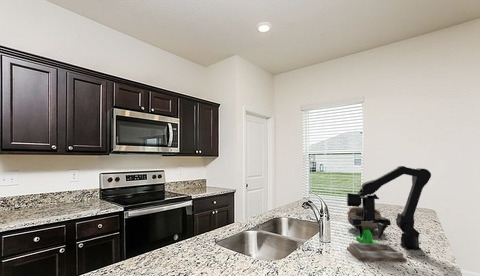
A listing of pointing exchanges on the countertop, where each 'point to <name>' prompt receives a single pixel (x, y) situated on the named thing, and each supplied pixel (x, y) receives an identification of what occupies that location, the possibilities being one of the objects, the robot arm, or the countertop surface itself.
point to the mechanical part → (366, 237)
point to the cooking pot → (364, 225)
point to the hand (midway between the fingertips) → (369, 238)
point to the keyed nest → (375, 252)
